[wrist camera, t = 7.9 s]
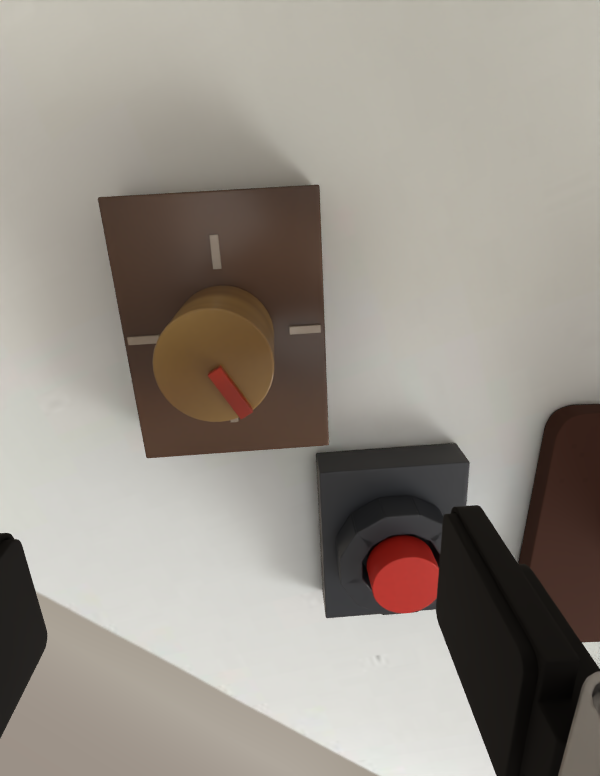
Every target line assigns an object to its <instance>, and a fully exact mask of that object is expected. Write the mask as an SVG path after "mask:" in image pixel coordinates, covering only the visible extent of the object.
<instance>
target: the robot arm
mask: <svg viewBox="0 0 600 776" xmlns="http://www.w3.org/2000/svg"><path fill="white" fill-rule="evenodd" d="M436 614H437V619H438V623H439V626H440V628H441V631H442V634H443V636H444V639H445V641H446V644H447V647H448V649H449V652H450V655H451V657H452V660H453V662H454V665H455V668H456V670H457V673H458V676H459V678H460V681H461V683H462V686H463V689H464V691H465V694H466V697H467V699H468V702H469V704H470V707H471V710H472V712H473V715H474V718H475V720H476V723H477V725H478V728H479V731H480V733H481V736H482V739H483V741H484V744H485V746H486V749H487V752H488V754H489V757H490V760H491V762H492V765H493V768H494V770H495V773H496V775H497V776H600V669H599V667H598V666H597V664H596V663H595V662H594V660H593V659H592V657H591V656H590V654H589V653H588V651H587V650H586V648H585V647H584V645H583V644H582V642H581V641H580V639H579V638H578V637H577V635H576V634H575V632H574V631H573V629H572V628H571V626H570V625H569V623H568V622H567V620H566V619H565V617H564V616H563V615H562V613H561V612H560V610H559V609H558V607H557V606H556V604H555V603H554V601H553V600H552V598H551V597H550V595H549V594H548V592H547V591H546V590H545V588H544V587H543V585H542V584H541V582H540V581H539V579H538V578H537V576H536V575H535V573H534V572H533V571H532V570H531V568H530V567H529V566H527V565H526V564H518V563H517V562H516V560H515V559H514V557H513V555H512V554H511V552H510V551H509V549H508V548H507V546H506V545H505V543H504V542H503V540H502V539H501V537H500V536H499V534H498V533H497V531H496V529H495V528H494V526H493V525H492V523H491V522H490V520H489V519H488V517H487V516H486V514H485V513H484V511H483V510H482V508H481V507H480V506H478V505H475V506H458V507H453V508H452V510H451V514H445V515H444V517H443V526H442V538H441V550H440V563H439V575H438V587H437V599H436ZM46 643H47V630H46V626H45V623H44V619H43V616H42V613H41V609H40V606H39V602H38V599H37V596H36V592H35V588H34V585H33V581H32V578H31V575H30V571H29V568H28V564H27V561H26V557H25V554H24V550H23V547H22V544H21V542H20V541H19V540H17V539H14V538H13V536H12V535H11V534H9V533H0V738H1V736H2V734H3V732H4V730H5V728H6V726H7V724H8V722H9V720H10V718H11V716H12V714H13V712H14V710H15V708H16V706H17V704H18V702H19V700H20V698H21V696H22V694H23V692H24V690H25V688H26V686H27V684H28V682H29V680H30V678H31V676H32V674H33V672H34V670H35V668H36V666H37V664H38V662H39V660H40V658H41V656H42V654H43V652H44V649H45V647H46Z"/></svg>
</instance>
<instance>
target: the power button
mask: <svg viewBox="0 0 600 776" xmlns="http://www.w3.org/2000/svg"><path fill="white" fill-rule="evenodd" d="M367 572H368V576H369V580H370V584H371V588H372V592H373V596H374V598H375V600H376V601H377V602H378V603H379V605H381V606H382V607H383V608H385V609H387V610H389V611H392V612H396V613H411V612H416V611H419V610H421V609H423V608H425V607H427V606H429V605H430V604H431V603H432V602H433V601H434V600H435V599H436V598H437V587H438V575H439V567H438V564H437V562H436V560H435V558H434V555H433V553H432V551H431V549H430V547H429V546H428V545H427V544H426V543H425V542H424V541H422V540H421V539H419V538H416V537H413V536H408V535H399V536H393V537H390V538H387V539H385V540H383V541H382V542H380V543H379V544H377V545H376V546H375V547H374V548H373V550H372V551H371V552H370V554H369V556H368V559H367Z"/></svg>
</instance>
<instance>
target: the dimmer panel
mask: <svg viewBox="0 0 600 776" xmlns="http://www.w3.org/2000/svg"><path fill="white" fill-rule="evenodd" d="M98 202H99V207H100V212H101V218H102V223H103V228H104V234H105V239H106V244H107V250H108V255H109V260H110V266H111V271H112V276H113V282H114V287H115V292H116V298H117V303H118V308H119V314H120V319H121V324H122V330H123V335H124V340H125V346H126V351H127V356H128V362H129V367H130V372H131V378H132V383H133V388H134V394H135V399H136V404H137V410H138V415H139V420H140V426H141V431H142V437H143V442H144V447H145V453H146V457H147V458H157V457H170V456H184V455H198V454H212V453H226V452H240V451H254V450H268V449H282V448H296V447H310V446H323V445H329V432H328V405H327V378H326V351H325V323H324V296H323V269H322V242H321V215H320V188H319V185H304V186H286V187H269V188H251V189H234V190H217V191H199V192H182V193H165V194H147V195H130V196H112V197H99V198H98ZM220 285H222V286H233V287H237V288H240V289H242V290H245V291H247V292H248V293H250V294H252V295H253V296H254V297H256V298H257V299H258V300H259V301H260V302H261V303H262V304H263V305H264V307H265V308H266V310H267V311H268V313H269V315H270V318H271V320H272V324H273V329H274V376H273V381H272V384H271V387H270V389H269V391H268V393H267V395H266V396H265V398H264V399H263V400H262V402H261V403H260V404H259V405H258V406H257V407H256V408H255V409H253V413H251V414H249V415H248V416H246V417H245V418H243V419H240V418H236V419H233V420H229V421H222V422H209V421H203V420H199V419H195V418H193V417H190V416H188V415H186V414H184V413H182V412H181V411H179V410H178V409H176V408H175V407H174V406H173V405H172V404H171V403H170V402H169V401H168V400H167V399H166V398H165V396H164V395H163V394H162V392H161V390H160V389H159V387H158V385H157V382H156V379H155V376H154V372H153V353H154V348H155V345H156V342H157V340H158V338H159V336H160V334H161V333H162V331H163V330H164V329H165V327H166V326H167V325H168V324H169V322H170V321H171V320H172V318H173V317H174V316H175V315H176V313H177V312H178V311H179V310H180V308H181V307H182V306H183V305H184V303H185V302H186V301H187V300H188V299H189V298H190V297H191V296H193V295H194V294H195V293H197V292H199V291H200V290H203V289H205V288H208V287H212V286H220Z"/></svg>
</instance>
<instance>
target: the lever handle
mask: <svg viewBox="0 0 600 776" xmlns="http://www.w3.org/2000/svg"><path fill="white" fill-rule="evenodd" d="M519 564H526V565H527V566H529V567H530V568H531V570H532V571H533V572H534V573H535V575H536V576H537V578H538V579H539V581H540V582H541V584H542V585H543V587H544V588H545V590H546V591H547V592H548V594H549V595H550V597H551V598H552V600H553V601H554V603H555V604H556V606H557V607H558V609H559V610H560V612H561V613H562V615H563V616H564V617H565V619H566V620H567V622H568V623H569V625H570V626H571V628H572V629H573V631H574V632H575V634H576V635H577V637H578V638H579V639H580V641H581V642H600V404H588V405H570V406H566V407H563V408H561V409H559V410H557V411H556V412H554V413H553V414H552V415H551V417H550V418H549V420H548V422H547V424H546V426H545V429H544V434H543V439H542V444H541V450H540V455H539V460H538V465H537V470H536V476H535V481H534V486H533V491H532V496H531V501H530V507H529V512H528V517H527V522H526V527H525V533H524V538H523V543H522V548H521V553H520V559H519Z"/></svg>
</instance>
